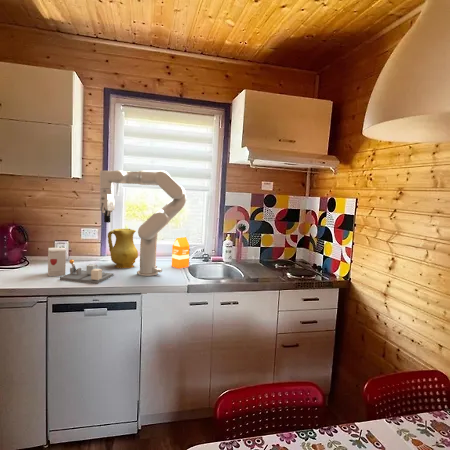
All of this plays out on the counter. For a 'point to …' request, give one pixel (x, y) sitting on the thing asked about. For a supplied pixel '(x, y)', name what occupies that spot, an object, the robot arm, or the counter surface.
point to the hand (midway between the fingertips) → (107, 222)
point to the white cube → (90, 268)
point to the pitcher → (123, 248)
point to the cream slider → (96, 274)
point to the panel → (84, 277)
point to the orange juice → (180, 253)
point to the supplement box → (56, 261)
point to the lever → (73, 265)
